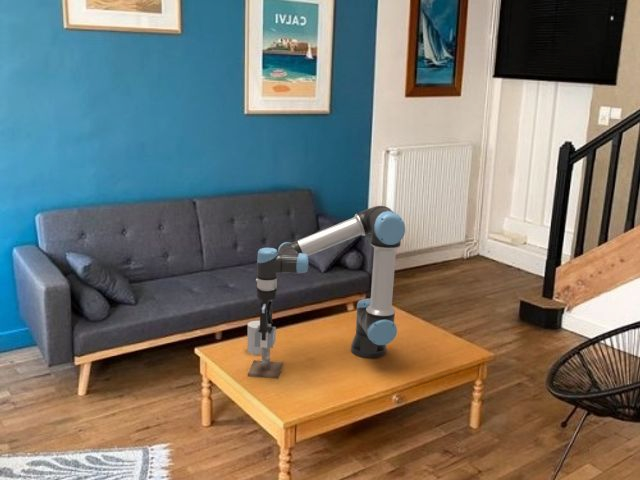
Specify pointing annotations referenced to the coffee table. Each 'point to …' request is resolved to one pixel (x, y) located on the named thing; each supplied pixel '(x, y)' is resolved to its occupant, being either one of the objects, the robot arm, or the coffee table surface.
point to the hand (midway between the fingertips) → (265, 343)
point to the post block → (265, 366)
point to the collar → (270, 336)
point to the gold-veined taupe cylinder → (253, 338)
